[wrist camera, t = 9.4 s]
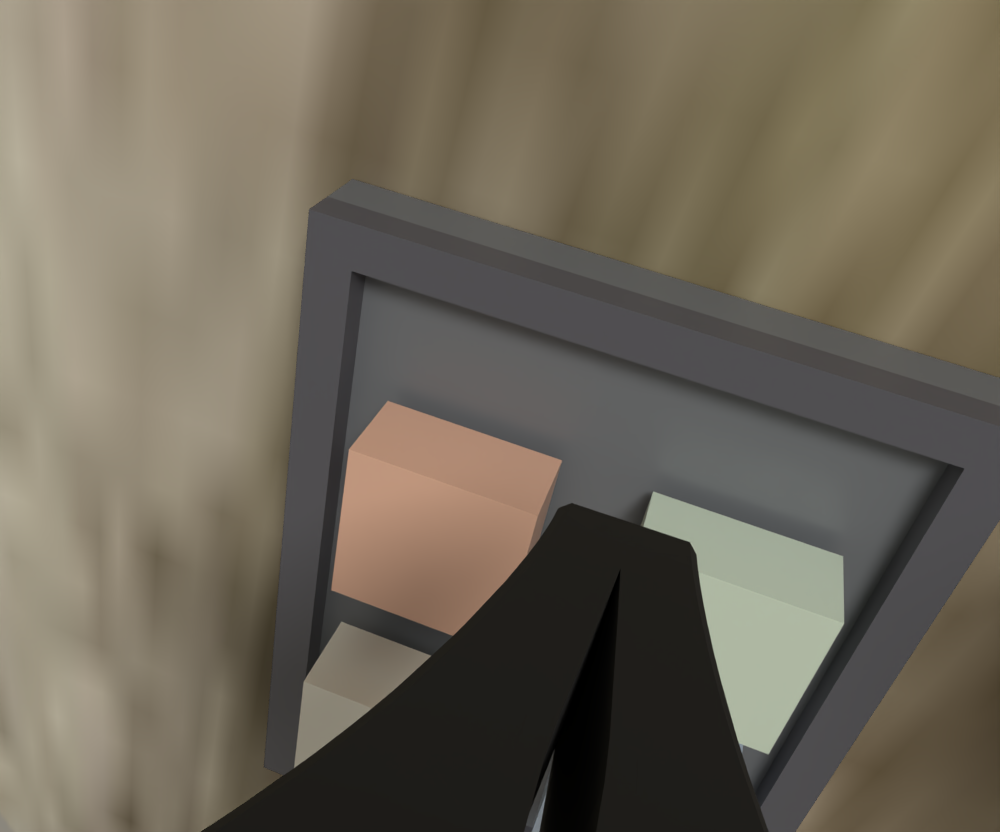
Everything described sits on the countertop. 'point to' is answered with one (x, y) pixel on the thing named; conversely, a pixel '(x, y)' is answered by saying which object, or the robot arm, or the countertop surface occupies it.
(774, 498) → the dark grey tray
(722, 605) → the key sage
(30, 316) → the countertop surface
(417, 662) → the key cream
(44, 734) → the countertop surface
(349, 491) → the key terracotta
